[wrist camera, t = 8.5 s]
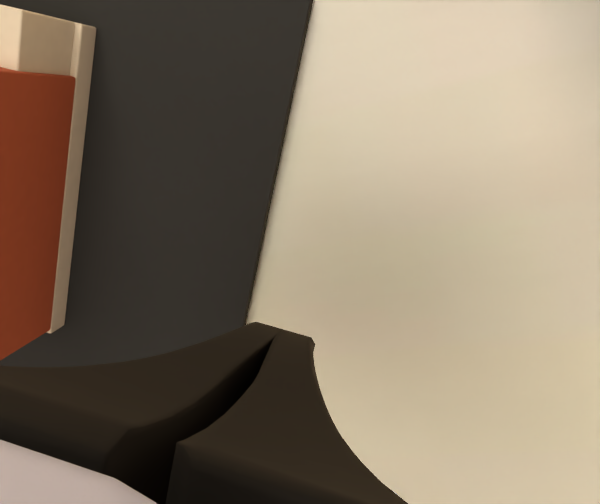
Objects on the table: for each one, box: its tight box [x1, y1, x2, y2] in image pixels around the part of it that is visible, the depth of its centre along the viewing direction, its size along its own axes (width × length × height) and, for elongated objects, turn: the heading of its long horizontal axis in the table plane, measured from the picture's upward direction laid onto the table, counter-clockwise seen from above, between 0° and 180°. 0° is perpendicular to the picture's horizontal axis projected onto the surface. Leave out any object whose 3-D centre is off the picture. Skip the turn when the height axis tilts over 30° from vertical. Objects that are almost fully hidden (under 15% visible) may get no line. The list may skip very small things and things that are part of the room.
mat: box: [0, 0, 313, 367], centre depth 23 cm, size 18×16×1 cm
